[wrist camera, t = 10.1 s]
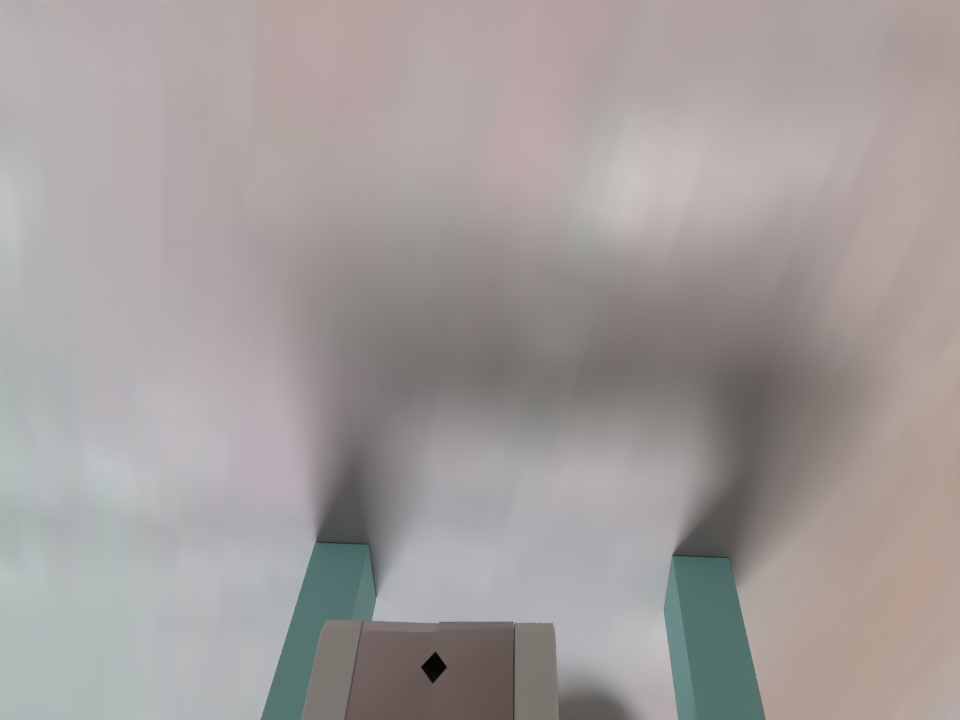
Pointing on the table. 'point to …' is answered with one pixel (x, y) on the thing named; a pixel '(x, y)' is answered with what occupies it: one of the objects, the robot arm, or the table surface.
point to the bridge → (688, 616)
